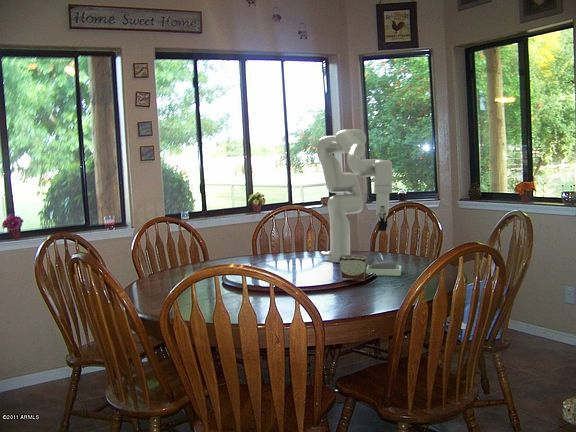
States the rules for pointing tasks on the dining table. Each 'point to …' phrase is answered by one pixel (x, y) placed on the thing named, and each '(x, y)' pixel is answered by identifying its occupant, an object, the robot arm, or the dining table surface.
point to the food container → (353, 266)
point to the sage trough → (384, 271)
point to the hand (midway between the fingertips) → (383, 229)
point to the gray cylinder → (384, 265)
